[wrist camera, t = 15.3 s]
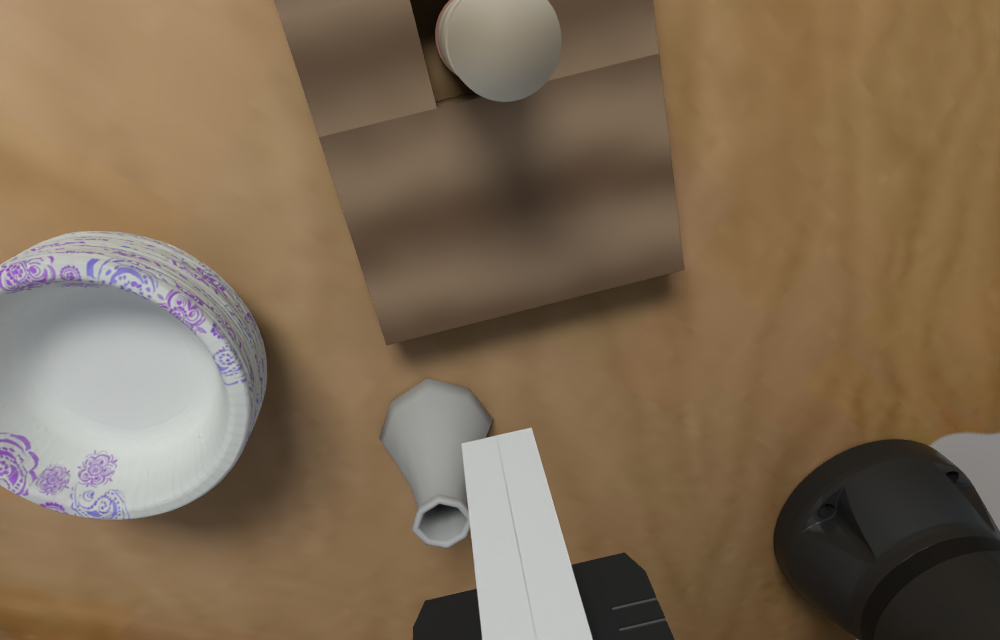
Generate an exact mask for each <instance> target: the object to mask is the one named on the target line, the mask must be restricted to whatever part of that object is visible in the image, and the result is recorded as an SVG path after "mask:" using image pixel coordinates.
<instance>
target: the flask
mask: <svg viewBox="0 0 1000 640" xmlns="http://www.w3.org/2000/svg"><path fill="white" fill-rule="evenodd" d="M492 421H493V418H492V417H491V416H490V414H489V413H488V412H487V411H486V409H485V408H484V407H483V405H482V404H481V403H480V402H479V400H478V399H477V398H476V397H475V395H474V394H473V393H472V392H471V390H470V389H468V388H464V387H460V386H456V385H452V384H448V383H444V382H440V381H437V380H433V379H429V378H427V379H425V380H424V381H422V382H421V383H419V384H418V385H416V386H414V387H413V388H411V389H410V390H408V391H407V392H405V393H404V394H402V395H401V396H399V397H398V398H396V399H395V400H393V401H391V404H390V407H389V410H388V413H387V416H386V419H385V422H384V425H383V428H382V431H381V433H380V436H379V439H380V440H381V442H382V443H383V445H384V446H385V448H386V449H387V451H388V452H389V453H390V455H391V456H392V458H393V459H394V460H395V462H396V463H397V465H398V466H399V468H400V470H401V471H402V473H403V474H404V476H405V478H406V479H407V481H408V483H409V484H410V486H411V488H412V491H413V494H414V498H415V501H416V504H417V514H416V517H415V520H414V522H413V525H412V530H413V532H414V533H415V534H416V535H417V536H418V537H419V538H420V539H421V540H422V541H423V542H424V543H425V544H426V545H431V546H437V547H442V548H447V549H448V548H450V547H451V546H453V545H455V544H456V543H458V542H460V541H461V540H463V539H464V538H466V537H467V535H468V533H469V530H470V519H469V510H468V508H467V501H466V493H467V492H466V482H465V473H464V464H463V454H462V445H461V444H462V443H466V442H470V441H475V440H479V439H484V438H486V436H487V433H488V431H489V428H490V426H491V423H492Z"/></svg>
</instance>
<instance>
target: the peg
mask: <svg viewBox="0 0 1000 640" xmlns="http://www.w3.org/2000/svg"><path fill="white" fill-rule="evenodd" d="M435 41H436V46H437V50H438V53H439V55H440V57H441V59H442V60H443V62H444V63H445V65H446V66H447V67H448V68H449V69H450V70H451V71H452V72H453V73H455V74H456V75H457V76H458V77H459V78H460V79H461V80H462V81H463V82H464V83H465V84H466V85H467V86H468V87H469V88H470V89H471V90H472V91H474V92H475V93H476V94H478V95H480V96H482V97H484V98H487V99H489V100H493V101H499V102H511V101H517V100H520V99H523V98H526V97H528V96H530V95H532V94H533V93H535V92H536V91H538V90H539V89H540V88H541V87H542V86H543V85H544V84H545V83H546V82H547V81H548V79H549V78H550V77H551V75H552V74H553V72H554V70H555V68H556V65H557V63H558V60H559V56H560V52H561V29H560V24H559V21H558V18H557V15H556V13H555V11H554V9H553V7H552V6H551V4H550V3H549V1H548V0H449V1H448V2H447V4H446V5H445V6H444V7H443V9H442V10H441V12H440V14H439V17H438V19H437V22H436V27H435Z"/></svg>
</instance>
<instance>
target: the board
mask: <svg viewBox="0 0 1000 640" xmlns="http://www.w3.org/2000/svg"><path fill="white" fill-rule="evenodd" d="M548 1H549V3H550V4H551V6H552V7H553V9H554V11H555V13H556V15H557V18H558V21H559V24H560V29H561V52H560V56H559V60H558V63H557V65H556V68H555V70H554V72H553V74H552V75H551V77H550V78H549V79H548V81H547V82H546V83H545V84H544V85H543V86H542V87H541V88H540V89H539V90H538V91H536V92H535V93H533V94H532V95H530V96H528V97H526V98H523V99H520V100H517V101H511V102H499V101H493V100H489V99H487V98H484V97H482V96H480V95H478V94H476V93H475V92H473V93H469V94H465V95H461V96H457V97H453V98H449V99H445V100H441V101H437V102H435V98H434V94H433V90H432V86H431V82H430V78H429V75H428V71H427V67H426V63H425V59H424V55H423V51H422V47H421V43H420V39H419V35H418V31H417V27H416V23H415V19H414V15H413V11H412V7H411V3H410V0H275V3H276V7H277V10H278V13H279V16H280V19H281V22H282V25H283V28H284V31H285V34H286V37H287V40H288V43H289V47H290V50H291V53H292V56H293V59H294V62H295V65H296V68H297V71H298V74H299V77H300V80H301V83H302V87H303V90H304V93H305V96H306V99H307V102H308V105H309V108H310V111H311V114H312V117H313V120H314V123H315V127H316V130H317V133H318V136H319V139H320V142H321V145H322V148H323V151H324V154H325V157H326V160H327V163H328V167H329V170H330V173H331V176H332V179H333V182H334V185H335V188H336V191H337V194H338V197H339V200H340V203H341V207H342V210H343V213H344V216H345V219H346V222H347V225H348V228H349V231H350V234H351V237H352V240H353V243H354V246H355V250H356V253H357V256H358V259H359V262H360V265H361V268H362V271H363V274H364V277H365V280H366V283H367V286H368V290H369V293H370V296H371V299H372V302H373V305H374V308H375V311H376V314H377V317H378V320H379V323H380V326H381V330H382V333H383V336H384V339H385V342H386V345H390V344H394V343H398V342H402V341H406V340H410V339H414V338H418V337H422V336H426V335H430V334H434V333H438V332H442V331H446V330H450V329H453V328H457V327H461V326H465V325H469V324H473V323H477V322H481V321H485V320H489V319H493V318H497V317H501V316H505V315H509V314H513V313H516V312H520V311H524V310H528V309H532V308H536V307H540V306H544V305H548V304H552V303H556V302H560V301H564V300H568V299H572V298H576V297H580V296H583V295H587V294H591V293H595V292H599V291H603V290H607V289H611V288H615V287H619V286H623V285H627V284H631V283H635V282H639V281H643V280H647V279H650V278H654V277H658V276H662V275H666V274H670V273H674V272H678V271H682V270H684V263H683V254H682V246H681V237H680V229H679V220H678V211H677V203H676V194H675V186H674V177H673V169H672V160H671V152H670V143H669V134H668V126H667V117H666V109H665V100H664V92H663V83H662V75H661V66H660V57H659V49H658V40H657V32H656V23H655V15H654V6H653V0H548Z"/></svg>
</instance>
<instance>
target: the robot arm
mask: <svg viewBox="0 0 1000 640" xmlns="http://www.w3.org/2000/svg"><path fill="white" fill-rule="evenodd" d="M461 445H462V454H463V464H464V473H465V482H466V492H467V501H468V510H469V519H470V529H471V538H472V547H473V557H474V566H475V575H476V585H477V589H474V590H470V591H465V592H461V593H457V594H452V595H448V596H444V597H439V598H435V599H431V600H426V601H425V602H424V604H423V607H422V609H421V611H420V613H419V615H418V618H417V620H416V622H415V624H414V626H413V640H674V638H673V635H672V633H671V630H670V628H669V626H668V623H667V622H666V620H665V616H664V614H663V612H662V609H661V607H660V605H659V602H658V601H657V599H656V595H655V593H654V590H653V588H652V586H651V583H650V581H649V579H648V576H647V574H646V572H645V570H643V569H642V568H641V567H640V566H639V565H638V564H637V563H636V562H635V561H633V560H632V559H631V558H630V557H629V556H628V555H627V554H626V553H621V554H616V555H612V556H608V557H603V558H599V559H595V560H590V561H586V562H582V563H578V564H573V565H571V563H570V559H569V556H568V552H567V549H566V546H565V542H564V539H563V535H562V532H561V528H560V525H559V521H558V518H557V514H556V511H555V508H554V504H553V501H552V497H551V494H550V490H549V487H548V483H547V480H546V476H545V473H544V470H543V466H542V463H541V459H540V456H539V452H538V449H537V445H536V442H535V439H534V435H533V432H532V428H528V429H523V430H519V431H515V432H510V433H506V434H501V435H497V436H492V437H488V438H484V439H479V440H475V441H470V442H466V443H462V444H461ZM774 548H775V554H776V558H777V561H778V563H779V565H780V567H781V569H782V571H783V572H784V574H785V575H786V576H787V578H788V579H789V581H790V582H791V584H792V585H793V587H794V588H795V589H796V591H797V592H798V593H799V594H800V595H801V596H802V597H803V598H804V599H805V600H806V601H807V602H809V603H810V604H811V605H813V606H814V607H816V608H817V609H818V610H820V611H821V612H822V613H824V614H825V615H826V616H827V617H829V618H830V619H831V620H833V621H834V622H835V623H837V624H838V625H839V626H841V627H842V628H843V629H845V630H846V631H848V632H849V633H850V634H852V635H853V636H854V637H856V638H857V639H858V640H1000V531H999V529H998V527H997V526H996V524H995V523H994V521H993V519H992V517H991V515H990V514H989V512H988V510H987V508H986V507H985V505H984V503H983V502H982V500H981V498H980V496H979V495H978V493H977V491H976V490H975V488H974V486H973V485H972V483H971V481H970V480H969V479H968V478H967V476H966V475H965V474H964V473H963V472H962V471H961V470H960V469H959V468H958V467H956V466H955V465H954V464H953V463H952V462H950V461H949V460H948V459H947V458H946V457H944V456H943V455H942V454H941V453H939V452H938V451H937V450H935V449H933V448H931V447H929V446H927V445H925V444H922V443H919V442H915V441H909V440H897V439H895V440H881V441H875V442H870V443H866V444H863V445H860V446H857V447H854V448H851V449H849V450H847V451H844V452H842V453H840V454H838V455H836V456H835V457H833V458H831V459H830V460H828V461H826V462H825V463H823V464H822V465H821V466H819V467H818V468H817V469H815V470H814V471H813V472H812V473H811V474H809V475H808V476H807V477H806V478H805V479H804V480H803V481H802V482H801V483H800V484H799V485H798V487H797V488H796V489H795V490H794V492H793V493H792V494H791V496H790V497H789V499H788V500H787V502H786V503H785V505H784V507H783V509H782V511H781V513H780V516H779V518H778V521H777V525H776V529H775V535H774Z"/></svg>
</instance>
